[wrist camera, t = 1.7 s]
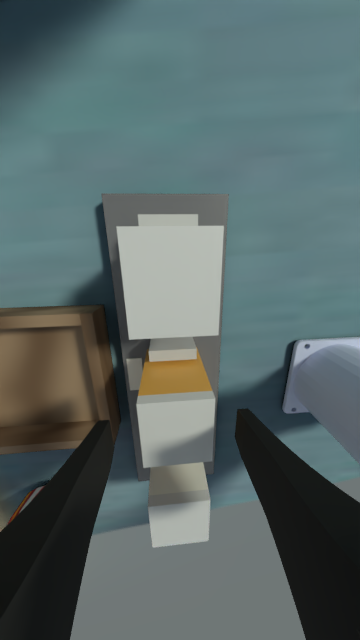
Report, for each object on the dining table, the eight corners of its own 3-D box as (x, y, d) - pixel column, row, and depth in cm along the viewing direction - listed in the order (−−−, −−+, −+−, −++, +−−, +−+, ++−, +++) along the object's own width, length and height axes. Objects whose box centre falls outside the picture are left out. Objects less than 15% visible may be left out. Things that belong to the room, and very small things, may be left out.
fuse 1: (197, 240, 13) (224, 225, 7) (196, 304, 14) (218, 335, 8) (138, 241, 12) (116, 226, 7) (143, 306, 14) (129, 339, 8)
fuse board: (223, 199, 13) (244, 178, 10) (211, 464, 21) (220, 502, 18) (106, 198, 12) (85, 176, 9) (139, 471, 21) (134, 511, 17)
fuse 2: (195, 422, 18) (210, 499, 12) (195, 457, 19) (208, 540, 13) (153, 426, 17) (147, 507, 12) (156, 460, 19) (152, 547, 13)
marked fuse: (196, 346, 15) (215, 398, 10) (196, 392, 17) (212, 461, 11) (147, 349, 15) (136, 404, 9) (150, 395, 16) (143, 467, 11)
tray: (103, 304, 15) (91, 313, 12) (120, 420, 18) (114, 444, 16) (-57, 310, 14) (-103, 320, 11) (-6, 430, 17) (-33, 457, 15)
